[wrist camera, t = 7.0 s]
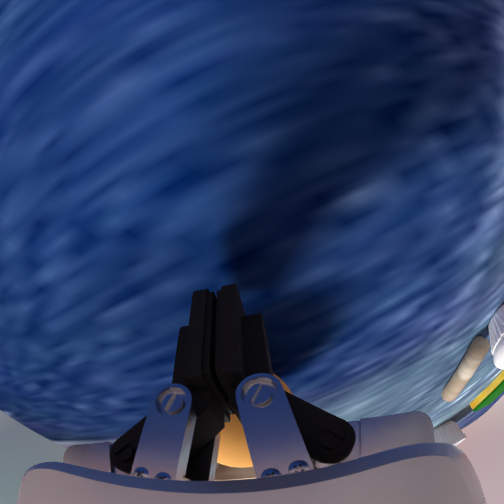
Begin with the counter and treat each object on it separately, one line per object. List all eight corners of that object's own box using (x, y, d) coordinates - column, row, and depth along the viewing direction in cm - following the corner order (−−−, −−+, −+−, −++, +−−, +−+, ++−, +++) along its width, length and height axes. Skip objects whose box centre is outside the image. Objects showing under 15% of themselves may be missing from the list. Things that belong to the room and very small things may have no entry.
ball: (296, 469, 12) (296, 384, 17) (298, 465, 8) (297, 342, 13) (198, 464, 13) (208, 384, 18) (157, 453, 9) (178, 342, 14)
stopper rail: (361, 431, 24) (368, 453, 22) (359, 436, 25) (365, 457, 23) (204, 458, 25) (204, 480, 22) (209, 462, 26) (210, 483, 23)
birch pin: (487, 335, 17) (455, 386, 22) (470, 336, 18) (441, 387, 23) (491, 352, 16) (457, 401, 20) (474, 353, 16) (442, 402, 21)
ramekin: (456, 422, 36) (465, 441, 31) (410, 449, 39) (417, 468, 34) (458, 411, 31) (468, 434, 26) (402, 444, 34) (410, 467, 29)
